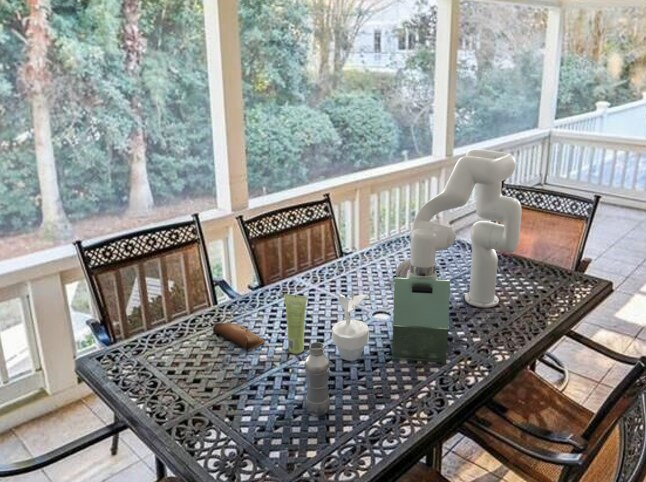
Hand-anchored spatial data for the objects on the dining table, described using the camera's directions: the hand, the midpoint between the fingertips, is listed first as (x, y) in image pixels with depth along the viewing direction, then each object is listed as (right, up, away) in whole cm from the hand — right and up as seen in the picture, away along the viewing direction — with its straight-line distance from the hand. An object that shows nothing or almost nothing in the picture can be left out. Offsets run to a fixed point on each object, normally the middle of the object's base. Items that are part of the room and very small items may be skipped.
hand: (420, 320), depth 170 cm
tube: (-39, -10, +2) cm, 41 cm away
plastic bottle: (-31, -19, -27) cm, 45 cm away
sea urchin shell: (+4, +6, +54) cm, 55 cm away
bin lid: (-1, +7, -8) cm, 11 cm away
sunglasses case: (-60, -8, +9) cm, 61 cm away
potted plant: (-22, -11, -1) cm, 24 cm away
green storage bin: (0, -10, +2) cm, 10 cm away
